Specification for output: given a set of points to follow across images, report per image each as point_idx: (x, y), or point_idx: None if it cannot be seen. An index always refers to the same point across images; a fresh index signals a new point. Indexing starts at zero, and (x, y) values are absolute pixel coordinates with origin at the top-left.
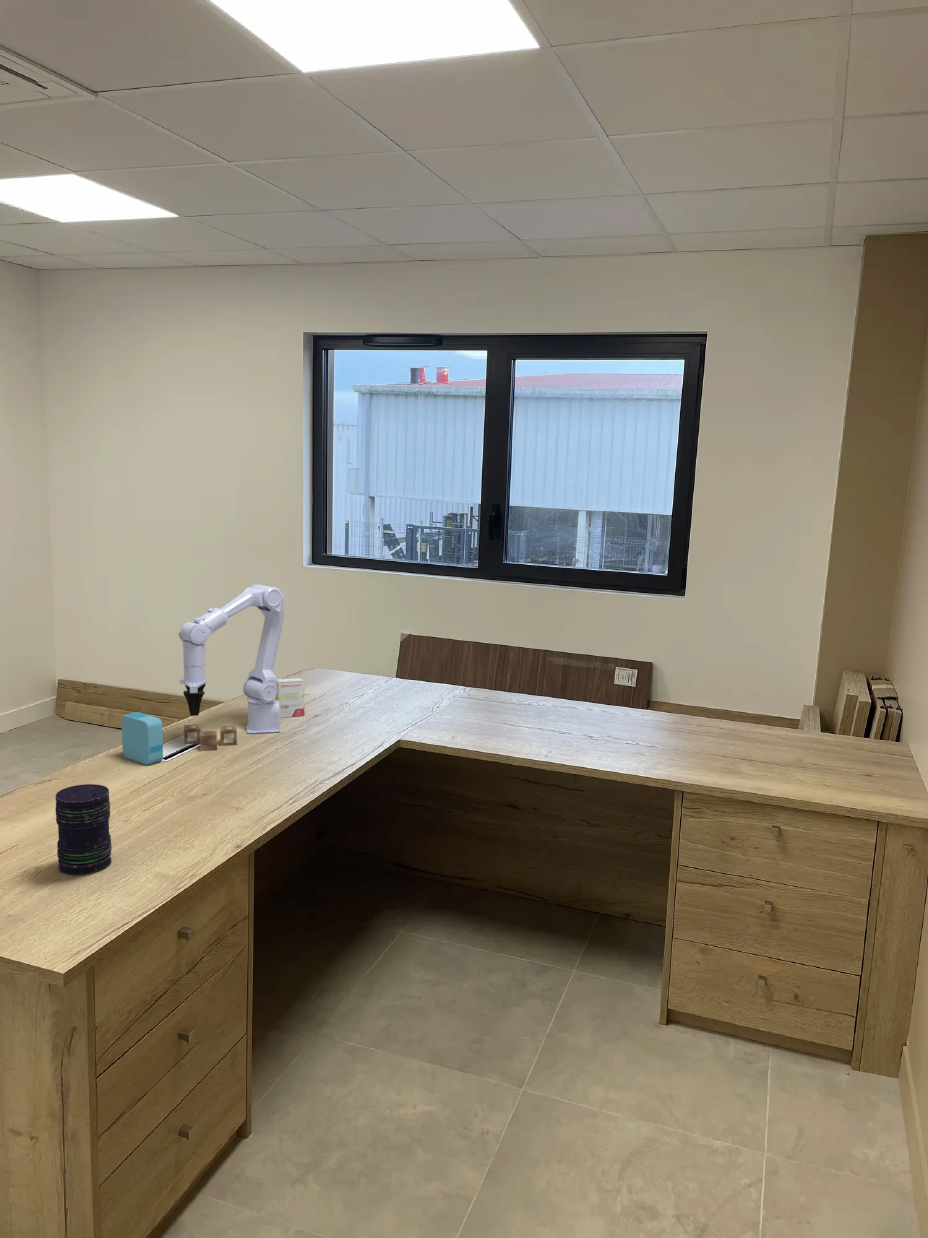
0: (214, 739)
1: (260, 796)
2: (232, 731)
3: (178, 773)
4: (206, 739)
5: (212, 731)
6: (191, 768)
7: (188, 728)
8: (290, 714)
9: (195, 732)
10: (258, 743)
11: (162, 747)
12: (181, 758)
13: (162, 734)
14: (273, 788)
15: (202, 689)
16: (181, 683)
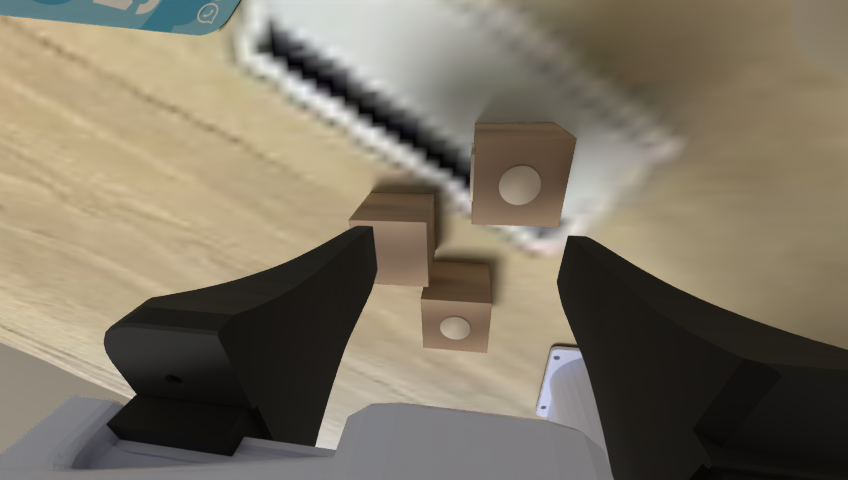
0: None
1: (49, 312)
2: (423, 332)
3: (113, 118)
4: None
5: (416, 271)
6: (176, 163)
7: (493, 165)
8: None
9: (470, 194)
10: (438, 355)
11: (149, 29)
12: (278, 120)
13: (66, 21)
14: None
15: (612, 454)
16: (347, 435)
